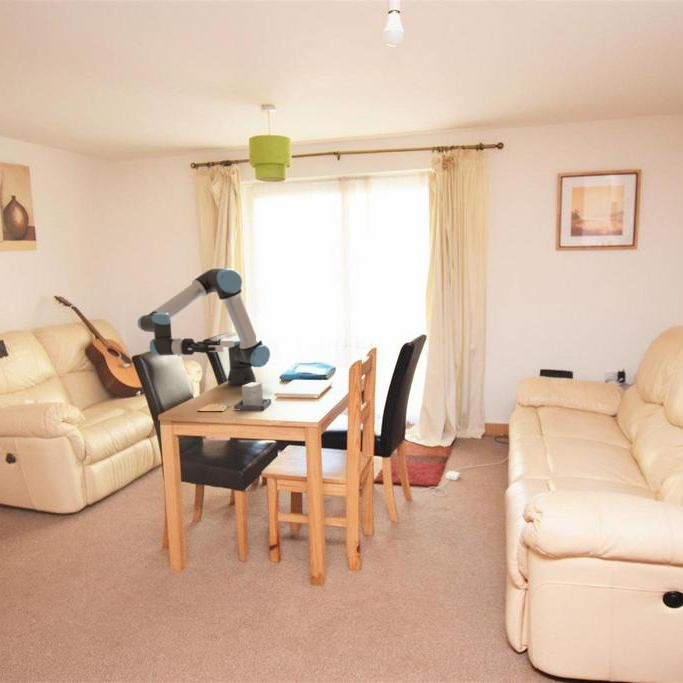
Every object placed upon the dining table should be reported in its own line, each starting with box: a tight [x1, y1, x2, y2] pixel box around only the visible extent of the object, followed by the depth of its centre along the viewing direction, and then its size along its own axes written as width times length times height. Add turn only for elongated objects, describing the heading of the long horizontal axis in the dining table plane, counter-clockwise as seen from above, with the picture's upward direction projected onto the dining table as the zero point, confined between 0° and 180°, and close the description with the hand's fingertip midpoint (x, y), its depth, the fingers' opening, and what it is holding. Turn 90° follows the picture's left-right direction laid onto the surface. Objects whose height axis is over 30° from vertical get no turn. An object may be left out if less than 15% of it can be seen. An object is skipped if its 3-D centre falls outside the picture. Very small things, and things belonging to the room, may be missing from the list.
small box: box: [241, 381, 264, 405], centre depth 260 cm, size 8×6×10 cm
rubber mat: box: [215, 402, 232, 408], centre depth 260 cm, size 12×12×1 cm
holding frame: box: [233, 398, 272, 411], centre depth 260 cm, size 12×13×2 cm
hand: (228, 346), depth 258 cm, fingers open, 13 cm apart
